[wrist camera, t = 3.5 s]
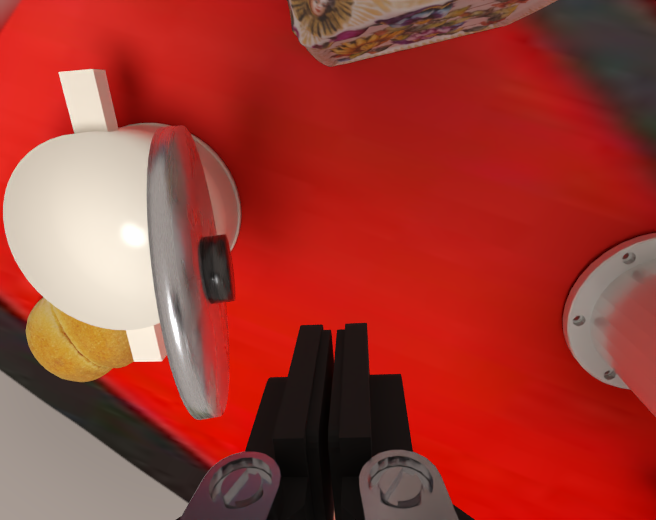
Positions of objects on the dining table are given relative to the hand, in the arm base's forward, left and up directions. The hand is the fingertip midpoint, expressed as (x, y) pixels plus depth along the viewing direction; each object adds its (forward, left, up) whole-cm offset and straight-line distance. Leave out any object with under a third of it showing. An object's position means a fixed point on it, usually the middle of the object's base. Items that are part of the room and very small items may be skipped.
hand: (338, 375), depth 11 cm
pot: (+15, 0, -22) cm, 27 cm away
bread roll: (+23, +10, -23) cm, 34 cm away
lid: (+7, 0, -8) cm, 11 cm away
